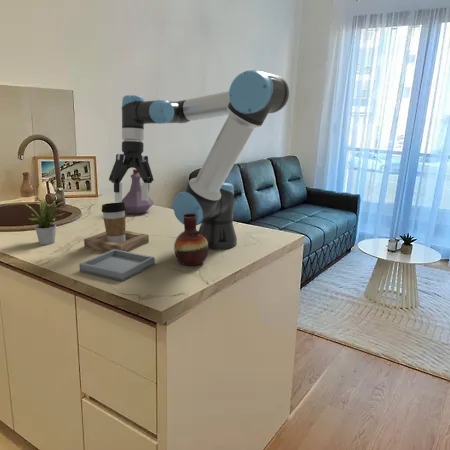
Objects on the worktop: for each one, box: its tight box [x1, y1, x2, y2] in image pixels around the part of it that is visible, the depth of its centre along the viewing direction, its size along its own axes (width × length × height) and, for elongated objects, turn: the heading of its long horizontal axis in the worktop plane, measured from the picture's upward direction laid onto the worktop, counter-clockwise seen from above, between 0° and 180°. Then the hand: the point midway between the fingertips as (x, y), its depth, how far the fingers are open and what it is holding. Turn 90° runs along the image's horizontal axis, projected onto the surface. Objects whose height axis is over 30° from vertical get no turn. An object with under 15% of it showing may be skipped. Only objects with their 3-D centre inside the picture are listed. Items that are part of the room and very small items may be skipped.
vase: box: [173, 214, 209, 266], centre depth 137 cm, size 11×11×15 cm
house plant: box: [24, 198, 66, 246], centre depth 152 cm, size 14×14×16 cm
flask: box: [122, 168, 155, 215], centre depth 201 cm, size 16×16×20 cm
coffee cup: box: [101, 202, 126, 243], centre depth 152 cm, size 8×8×15 cm
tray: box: [78, 249, 156, 282], centre depth 132 cm, size 16×16×2 cm
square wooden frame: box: [83, 230, 150, 253], centre depth 153 cm, size 16×16×3 cm
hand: (132, 201), depth 153 cm, fingers open, 13 cm apart
